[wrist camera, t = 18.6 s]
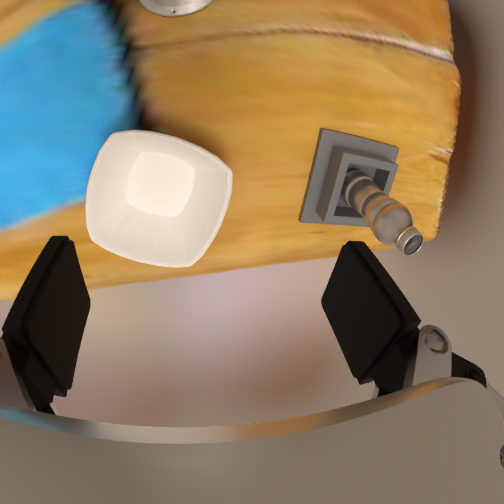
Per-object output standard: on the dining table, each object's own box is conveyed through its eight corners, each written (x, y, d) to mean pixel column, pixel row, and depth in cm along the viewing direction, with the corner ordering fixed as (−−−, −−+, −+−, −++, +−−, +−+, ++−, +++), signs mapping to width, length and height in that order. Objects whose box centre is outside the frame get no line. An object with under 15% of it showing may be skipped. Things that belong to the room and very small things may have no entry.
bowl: (242, 147, 42) (251, 164, 36) (197, 247, 52) (198, 277, 46) (120, 108, 34) (102, 117, 28) (93, 218, 44) (79, 246, 38)
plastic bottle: (370, 182, 49) (436, 241, 33) (345, 204, 51) (402, 272, 35) (354, 159, 45) (425, 214, 30) (327, 183, 47) (387, 248, 32)
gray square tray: (320, 128, 42) (333, 135, 38) (396, 146, 46) (411, 155, 42) (298, 219, 52) (307, 234, 48) (370, 224, 56) (381, 237, 52)
